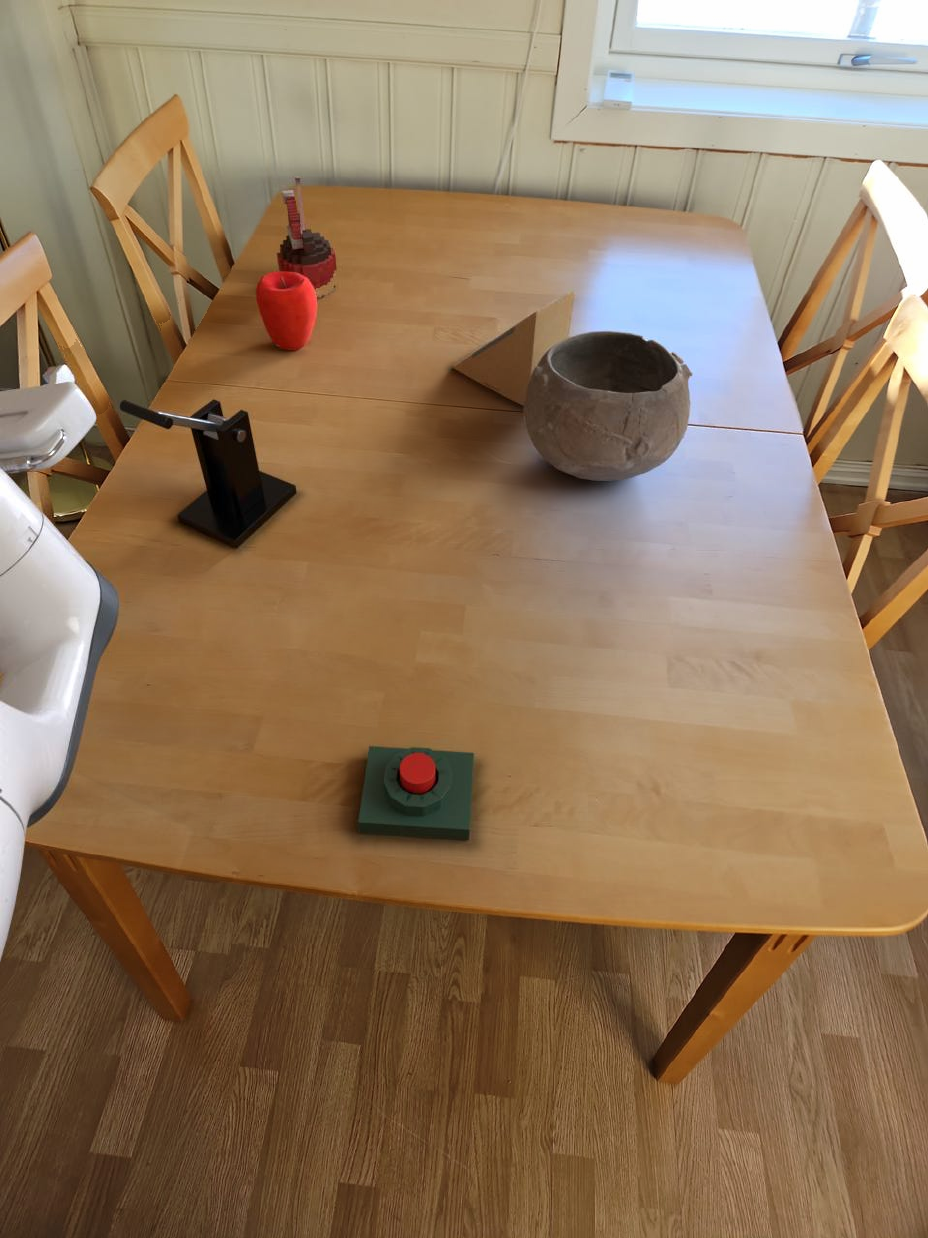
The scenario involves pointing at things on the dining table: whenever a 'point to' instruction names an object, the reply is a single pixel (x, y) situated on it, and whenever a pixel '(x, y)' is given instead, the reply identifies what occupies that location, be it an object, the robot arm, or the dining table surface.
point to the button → (417, 773)
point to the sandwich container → (519, 350)
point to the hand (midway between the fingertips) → (20, 378)
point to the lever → (174, 419)
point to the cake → (305, 246)
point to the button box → (417, 796)
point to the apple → (287, 308)
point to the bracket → (232, 482)
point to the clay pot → (607, 405)
